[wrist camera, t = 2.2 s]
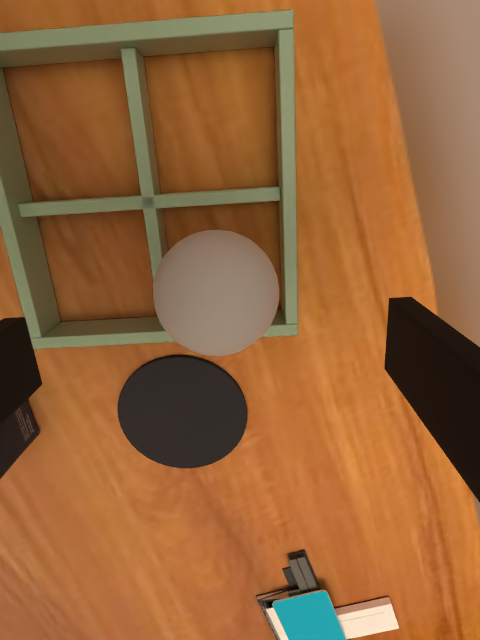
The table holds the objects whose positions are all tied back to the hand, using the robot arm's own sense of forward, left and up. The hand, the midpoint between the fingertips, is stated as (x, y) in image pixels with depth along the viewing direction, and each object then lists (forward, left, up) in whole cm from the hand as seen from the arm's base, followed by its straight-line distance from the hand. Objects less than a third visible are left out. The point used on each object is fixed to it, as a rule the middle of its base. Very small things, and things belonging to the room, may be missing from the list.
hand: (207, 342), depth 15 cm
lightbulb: (0, 0, -14) cm, 14 cm away
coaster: (+12, -4, -13) cm, 18 cm away
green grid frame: (-4, -4, -13) cm, 15 cm away
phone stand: (+36, +8, -14) cm, 39 cm away
